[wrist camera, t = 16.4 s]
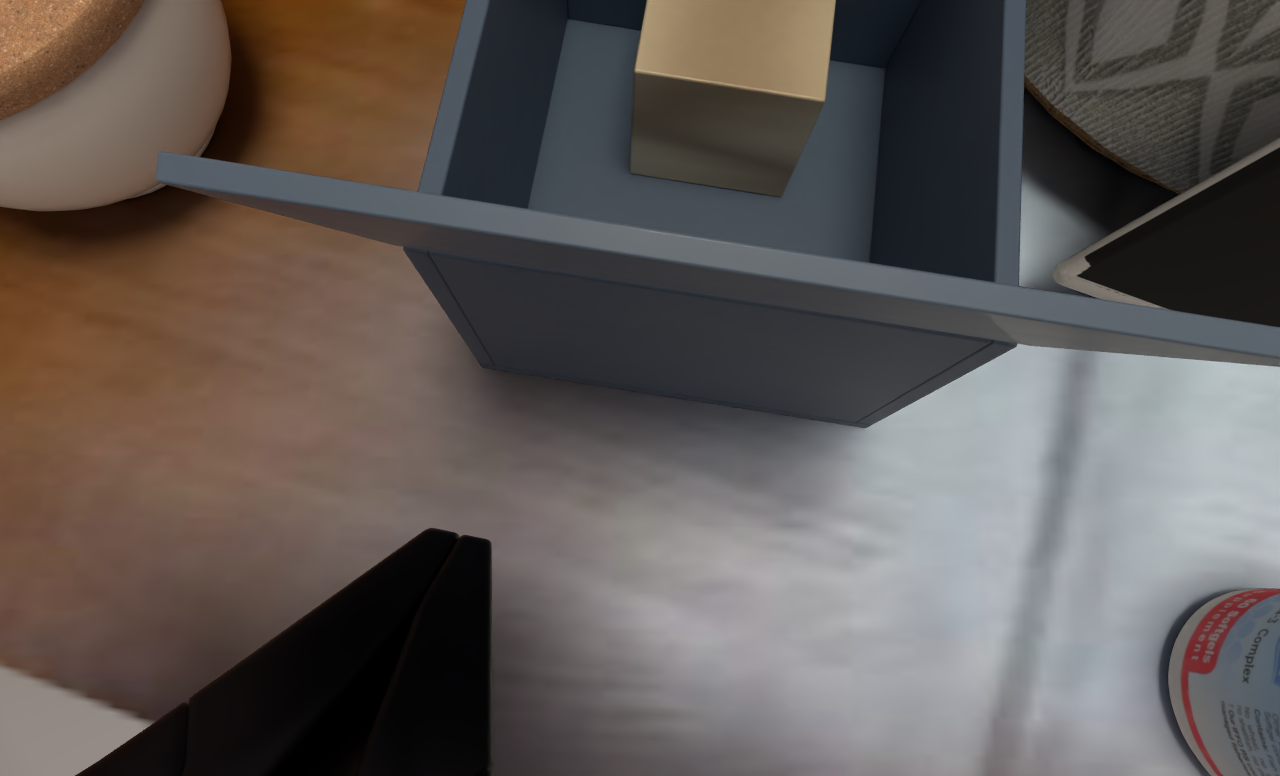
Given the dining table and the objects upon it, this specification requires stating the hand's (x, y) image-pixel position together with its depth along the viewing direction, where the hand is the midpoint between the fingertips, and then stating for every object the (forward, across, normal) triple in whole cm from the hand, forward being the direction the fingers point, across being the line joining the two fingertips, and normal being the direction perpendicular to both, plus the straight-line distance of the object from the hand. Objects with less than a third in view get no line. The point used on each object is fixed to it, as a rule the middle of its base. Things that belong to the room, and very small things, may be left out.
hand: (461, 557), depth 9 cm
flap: (+3, -3, -4) cm, 5 cm away
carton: (+17, -2, 0) cm, 17 cm away
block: (+18, -2, -3) cm, 19 cm away
